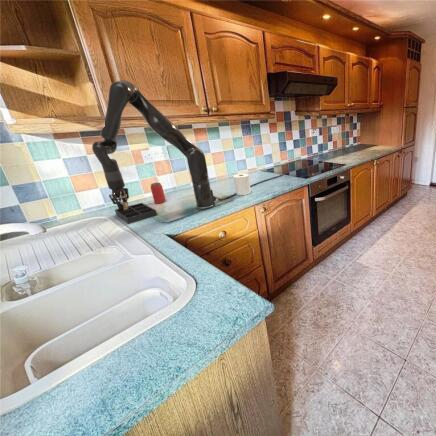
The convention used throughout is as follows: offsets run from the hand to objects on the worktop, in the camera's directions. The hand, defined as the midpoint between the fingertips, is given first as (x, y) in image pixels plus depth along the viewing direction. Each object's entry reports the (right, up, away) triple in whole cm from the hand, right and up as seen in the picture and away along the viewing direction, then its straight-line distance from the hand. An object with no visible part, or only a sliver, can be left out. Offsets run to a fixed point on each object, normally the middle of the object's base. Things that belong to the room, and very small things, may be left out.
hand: (124, 208), depth 146 cm
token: (0, 0, 0) cm, 0 cm away
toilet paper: (+62, +11, +28) cm, 69 cm away
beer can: (+11, +5, +19) cm, 22 cm away
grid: (+7, -4, -1) cm, 8 cm away
